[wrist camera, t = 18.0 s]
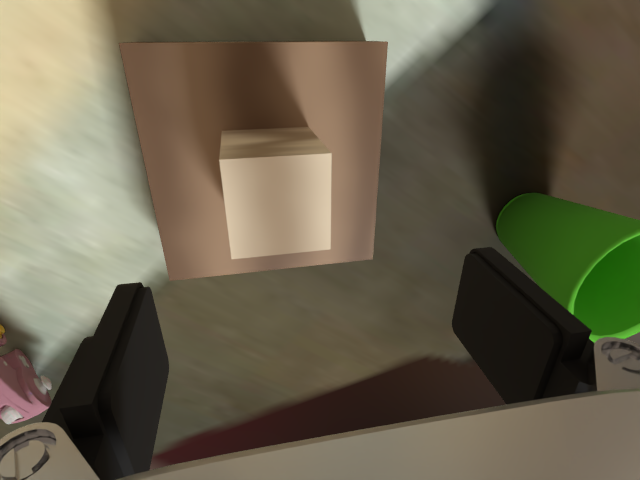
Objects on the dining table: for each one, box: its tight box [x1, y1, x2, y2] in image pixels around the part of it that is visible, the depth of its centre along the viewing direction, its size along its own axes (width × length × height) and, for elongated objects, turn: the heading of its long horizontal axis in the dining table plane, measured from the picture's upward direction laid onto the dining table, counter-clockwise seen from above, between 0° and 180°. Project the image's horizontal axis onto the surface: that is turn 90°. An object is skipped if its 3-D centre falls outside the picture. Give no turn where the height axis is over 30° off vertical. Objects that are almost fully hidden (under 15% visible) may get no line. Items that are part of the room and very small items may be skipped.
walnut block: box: [119, 41, 388, 281], centre depth 26 cm, size 14×14×4 cm
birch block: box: [219, 127, 332, 259], centre depth 21 cm, size 5×5×6 cm
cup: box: [496, 193, 640, 343], centre depth 30 cm, size 9×9×11 cm
